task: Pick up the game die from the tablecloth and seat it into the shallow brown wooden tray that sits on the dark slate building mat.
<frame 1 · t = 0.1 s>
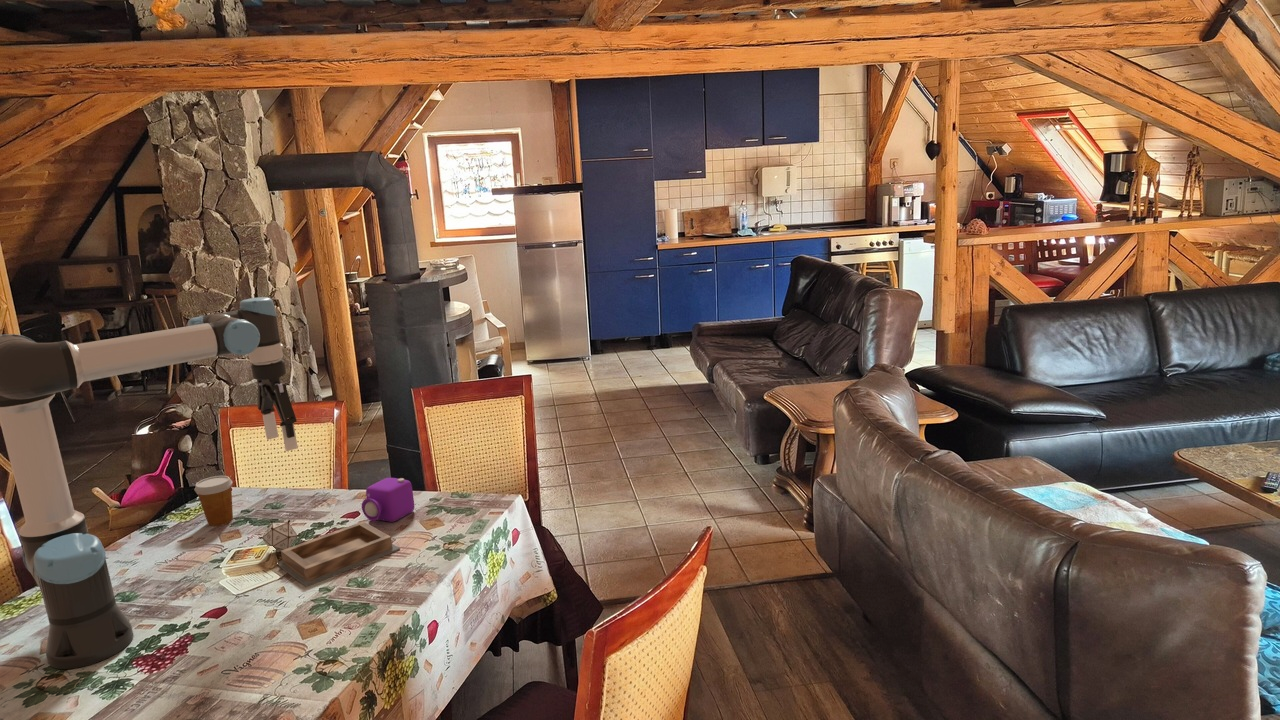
hand: (282, 443, 211), 28 cm above the table, fingers open, 13 cm apart
game die: (282, 551, 215), on the table
brown wooden tray: (338, 556, 209), resting on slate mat
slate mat: (338, 556, 209), on the table
toy camera: (389, 518, 231), on the table
disposable coffee cup: (220, 522, 236), on the table
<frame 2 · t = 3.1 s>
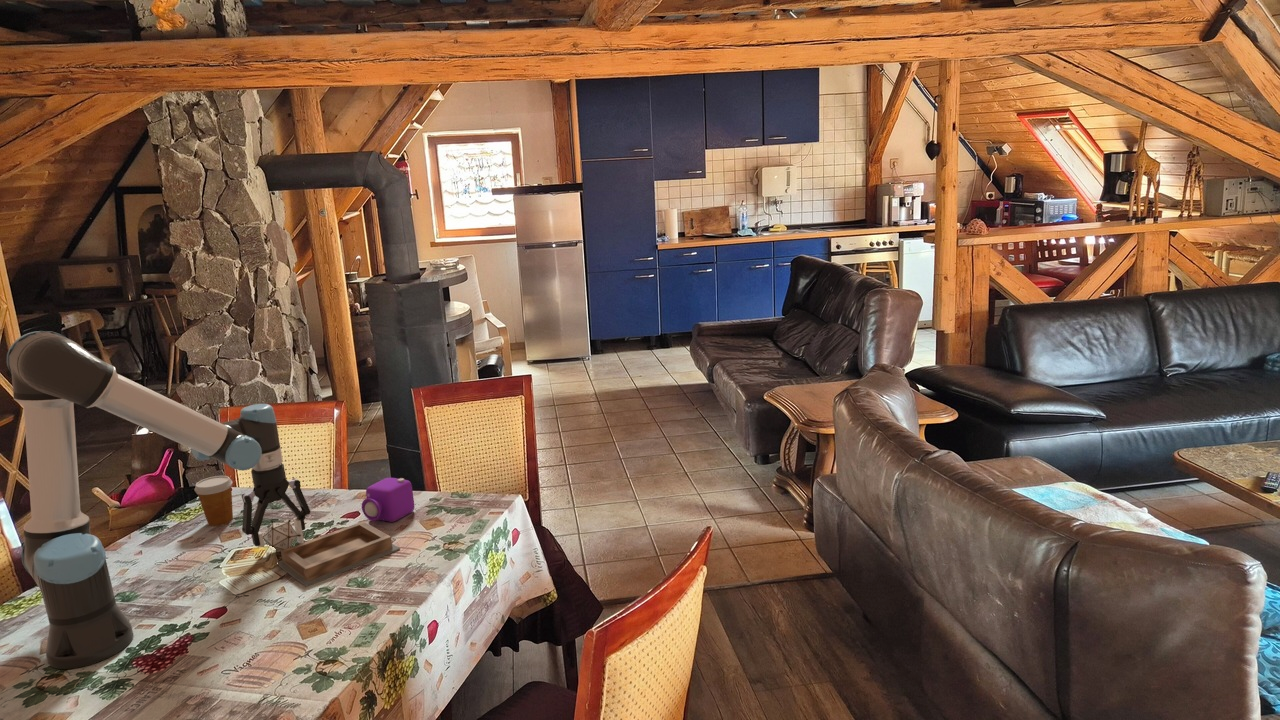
hand: (282, 549, 215), 0 cm above the table, fingers closed on game die, 9 cm apart
game die: (282, 551, 215), on the table, touching gripper
everything else where it was.
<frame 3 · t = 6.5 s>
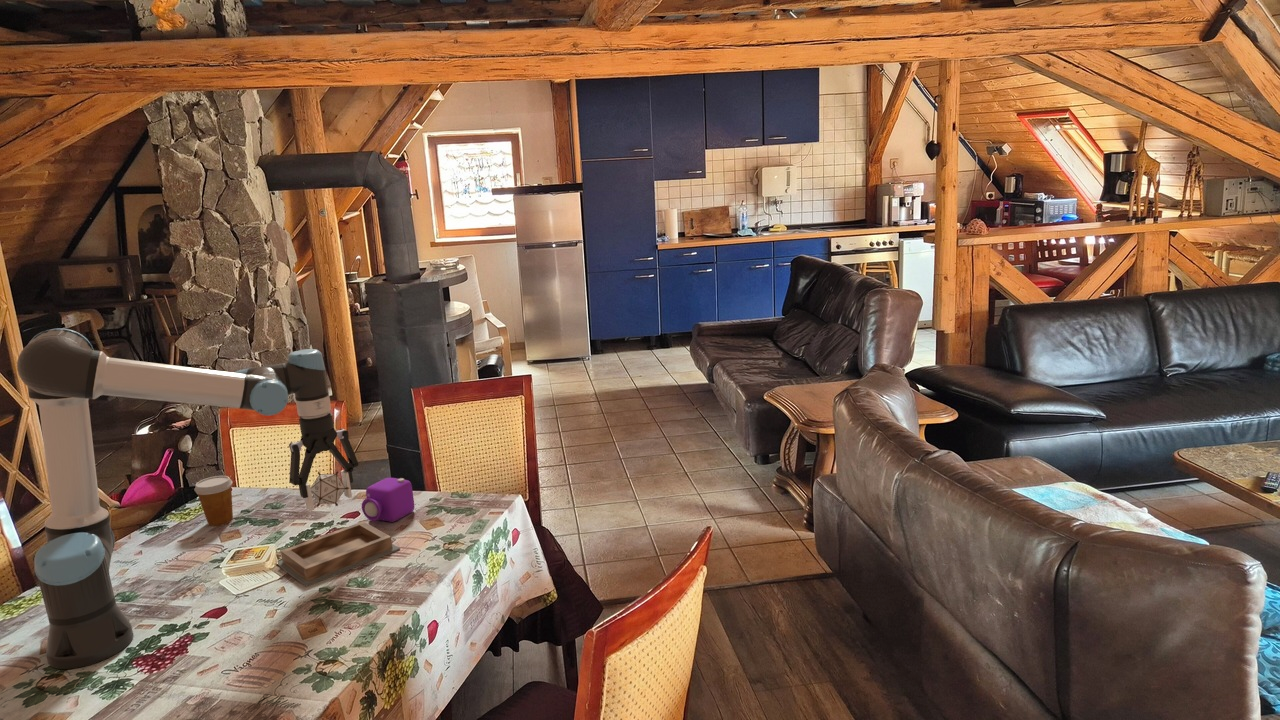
hand: (329, 502, 206), 14 cm above the table, fingers closed on game die, 9 cm apart
game die: (330, 504, 206), point 14 cm above the table, touching gripper
everything else where it was.
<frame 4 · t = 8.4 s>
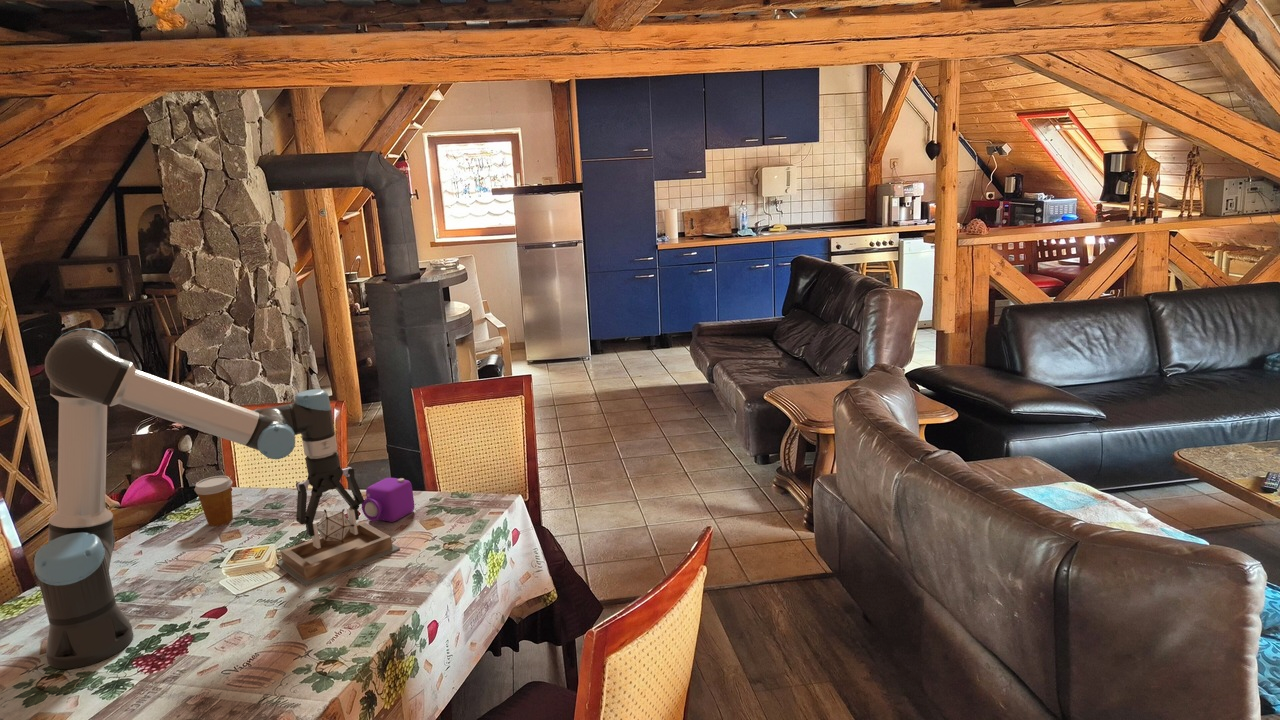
hand: (335, 539, 208), 5 cm above the table, fingers closed on game die, 9 cm apart
game die: (336, 542, 209), point 4 cm above the table, touching gripper
everything else where it was.
when the fingers open (3 cm above the table, at t = 9.8 s): game die drops 1 cm, resting on brown wooden tray.
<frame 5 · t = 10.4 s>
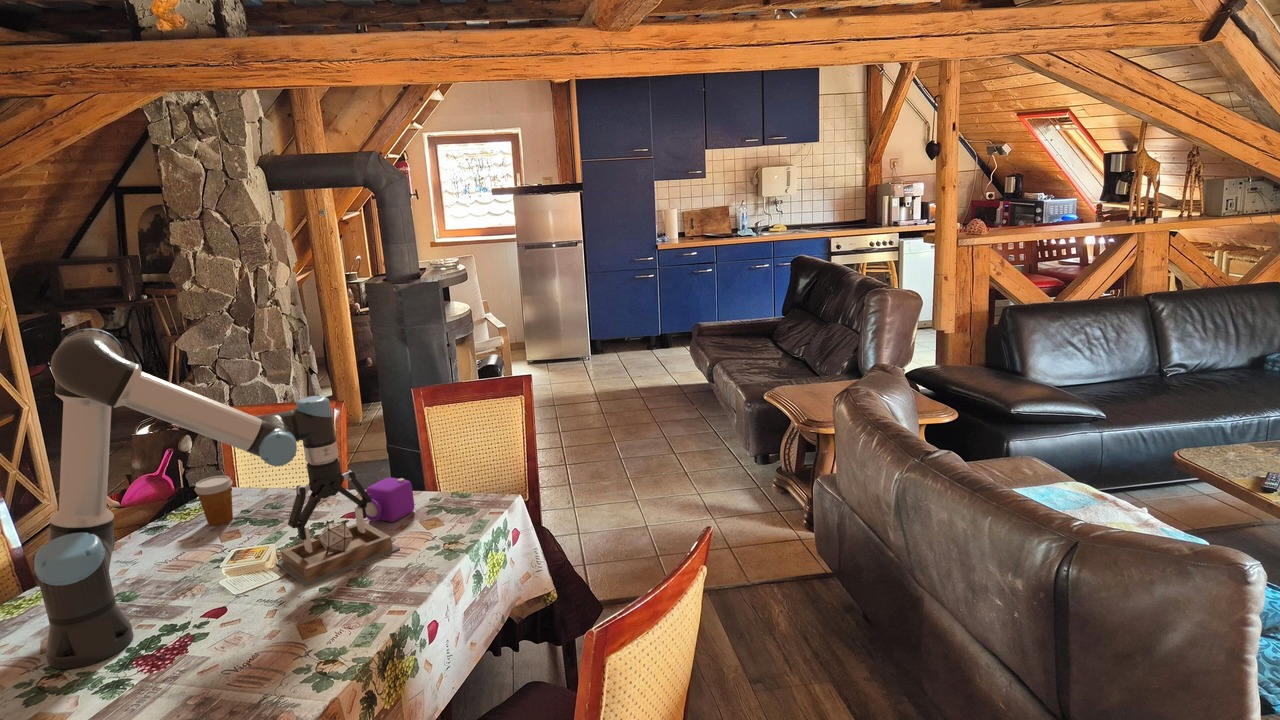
hand: (335, 541, 208), 4 cm above the table, fingers open, 13 cm apart
game die: (338, 553, 210), point 1 cm above the table, touching brown wooden tray
everything else where it was.
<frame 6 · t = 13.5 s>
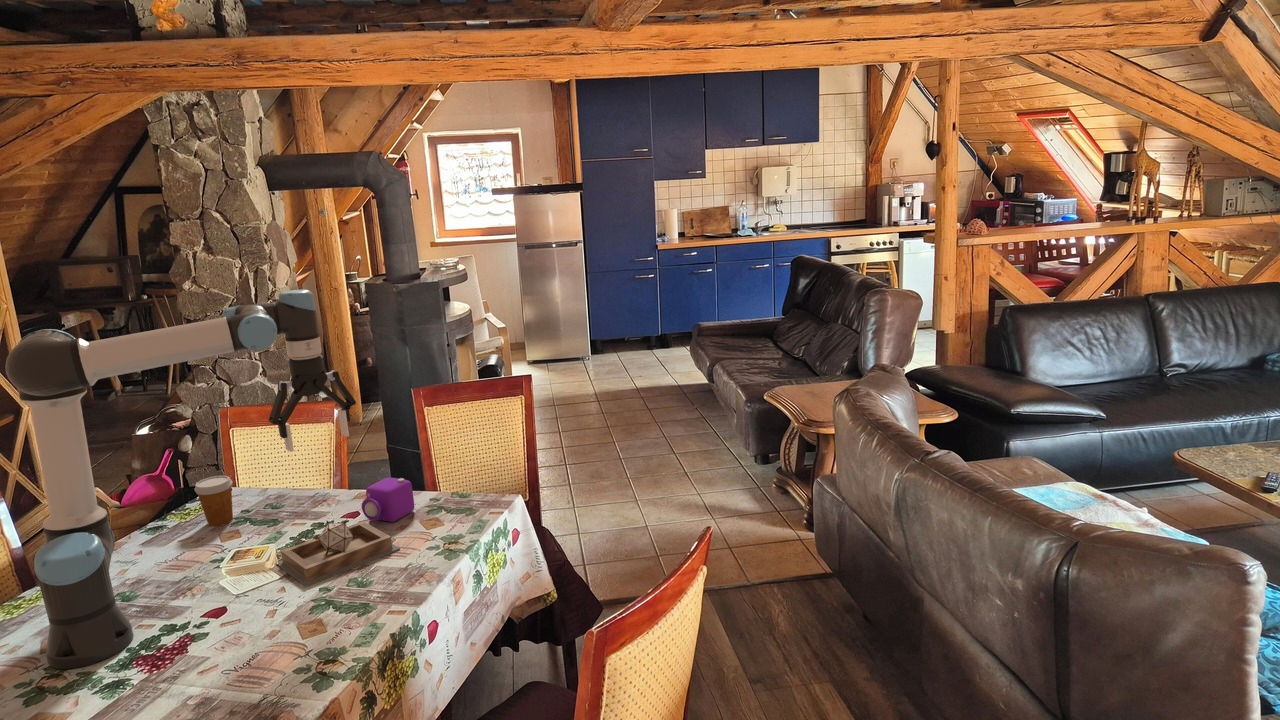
hand: (318, 442, 202), 30 cm above the table, fingers open, 13 cm apart
nothing on the table moved.
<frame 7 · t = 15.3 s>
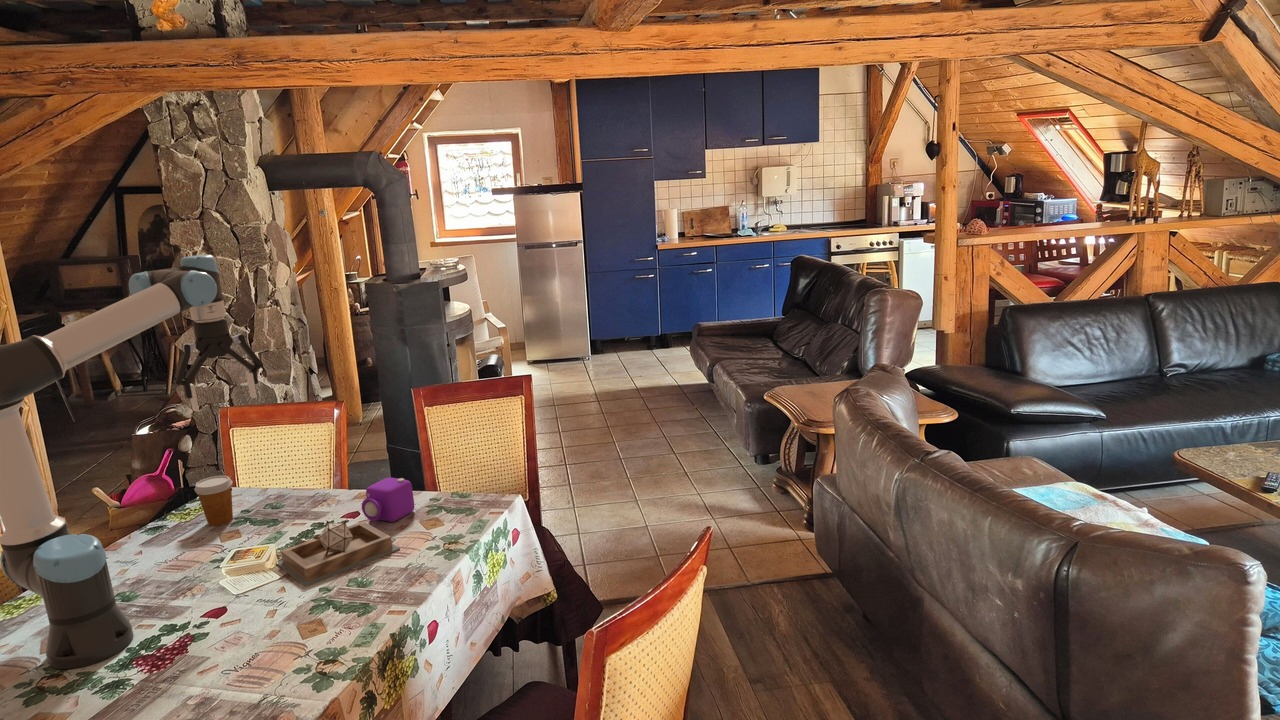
hand: (225, 403, 209), 39 cm above the table, fingers open, 13 cm apart
nothing on the table moved.
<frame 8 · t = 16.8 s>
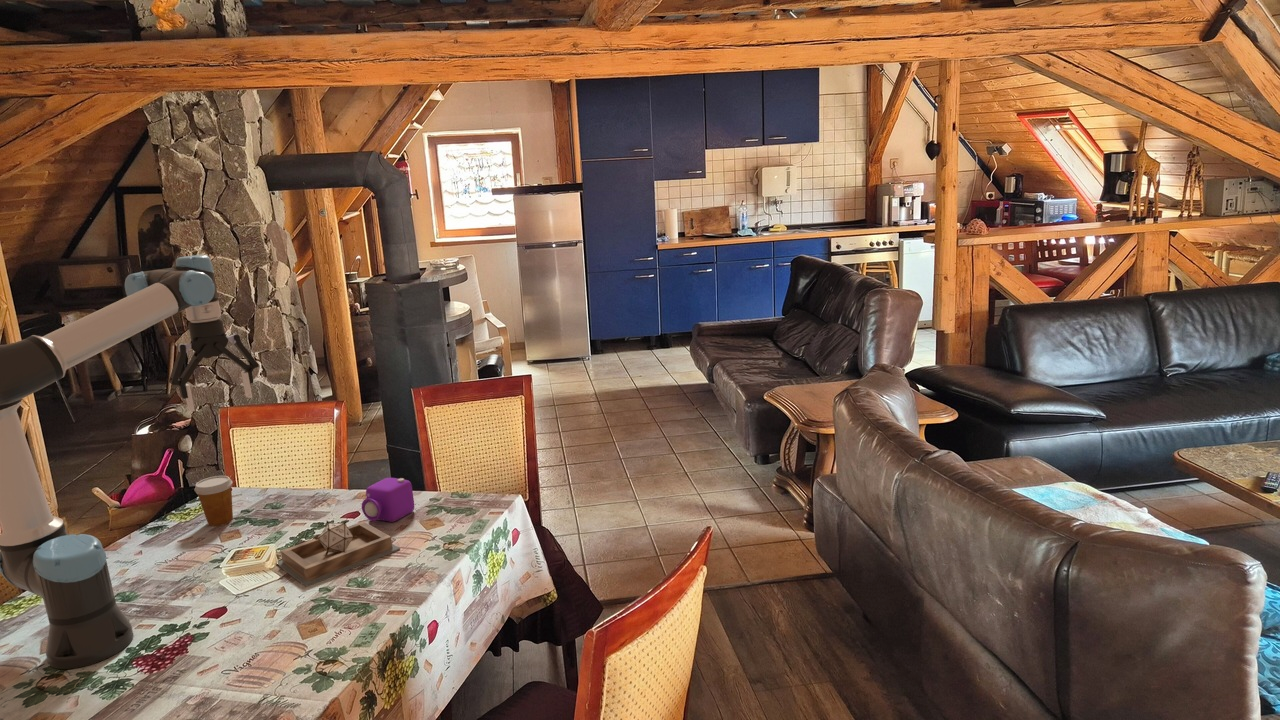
hand: (220, 403, 210), 39 cm above the table, fingers open, 13 cm apart
nothing on the table moved.
at the end: game die inside the target area on the brown wooden tray (0.2 cm from its centre), point 0.8 cm above the brown wooden tray's base; game die touching brown wooden tray; the gripper is holding nothing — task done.
